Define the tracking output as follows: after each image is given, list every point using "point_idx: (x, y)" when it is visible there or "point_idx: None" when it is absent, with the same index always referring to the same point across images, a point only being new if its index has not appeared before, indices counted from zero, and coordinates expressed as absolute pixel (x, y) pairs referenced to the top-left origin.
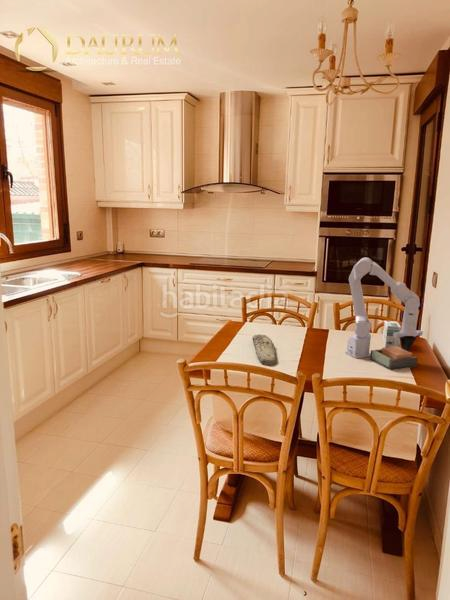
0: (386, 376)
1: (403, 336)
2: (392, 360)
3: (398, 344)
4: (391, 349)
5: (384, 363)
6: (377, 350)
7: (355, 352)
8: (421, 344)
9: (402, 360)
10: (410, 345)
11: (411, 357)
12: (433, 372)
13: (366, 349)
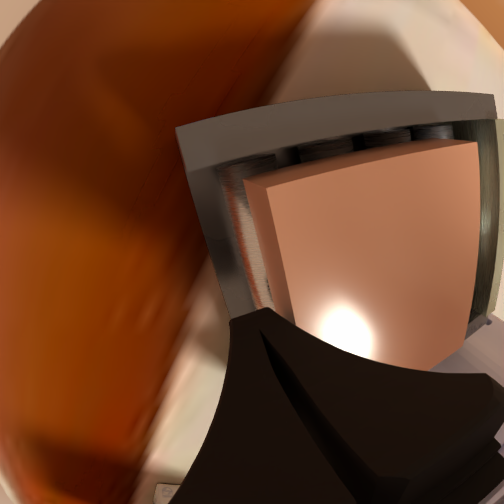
0: (468, 34)
1: (499, 474)
2: (488, 96)
3: (166, 501)
4: (433, 322)
5: None
6: None
7: (498, 319)
8: (35, 493)
9: (409, 92)
10: (256, 385)
11: (282, 129)
12: (92, 7)
13: (471, 352)
